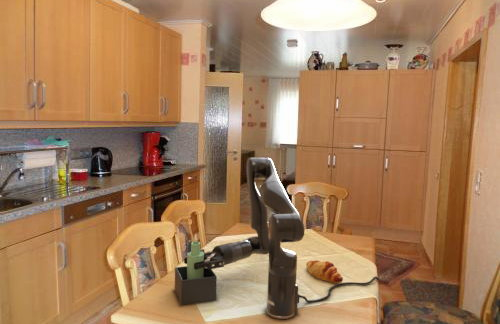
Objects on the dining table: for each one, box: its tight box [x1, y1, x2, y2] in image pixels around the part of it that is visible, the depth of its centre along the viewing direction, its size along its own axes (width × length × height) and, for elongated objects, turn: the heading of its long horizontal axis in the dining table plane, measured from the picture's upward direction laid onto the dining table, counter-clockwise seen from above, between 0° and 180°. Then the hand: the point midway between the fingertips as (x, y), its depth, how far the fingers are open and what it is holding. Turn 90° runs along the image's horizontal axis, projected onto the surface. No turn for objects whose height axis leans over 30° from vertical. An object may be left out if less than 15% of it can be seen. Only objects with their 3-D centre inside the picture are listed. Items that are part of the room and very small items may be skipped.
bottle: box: [186, 241, 204, 280], centre depth 138 cm, size 6×6×15 cm
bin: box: [174, 265, 218, 306], centre depth 138 cm, size 12×12×9 cm
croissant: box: [305, 259, 344, 284], centre depth 159 cm, size 21×10×8 cm, turn 32°
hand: (189, 263), depth 136 cm, fingers closed on bottle, 5 cm apart
